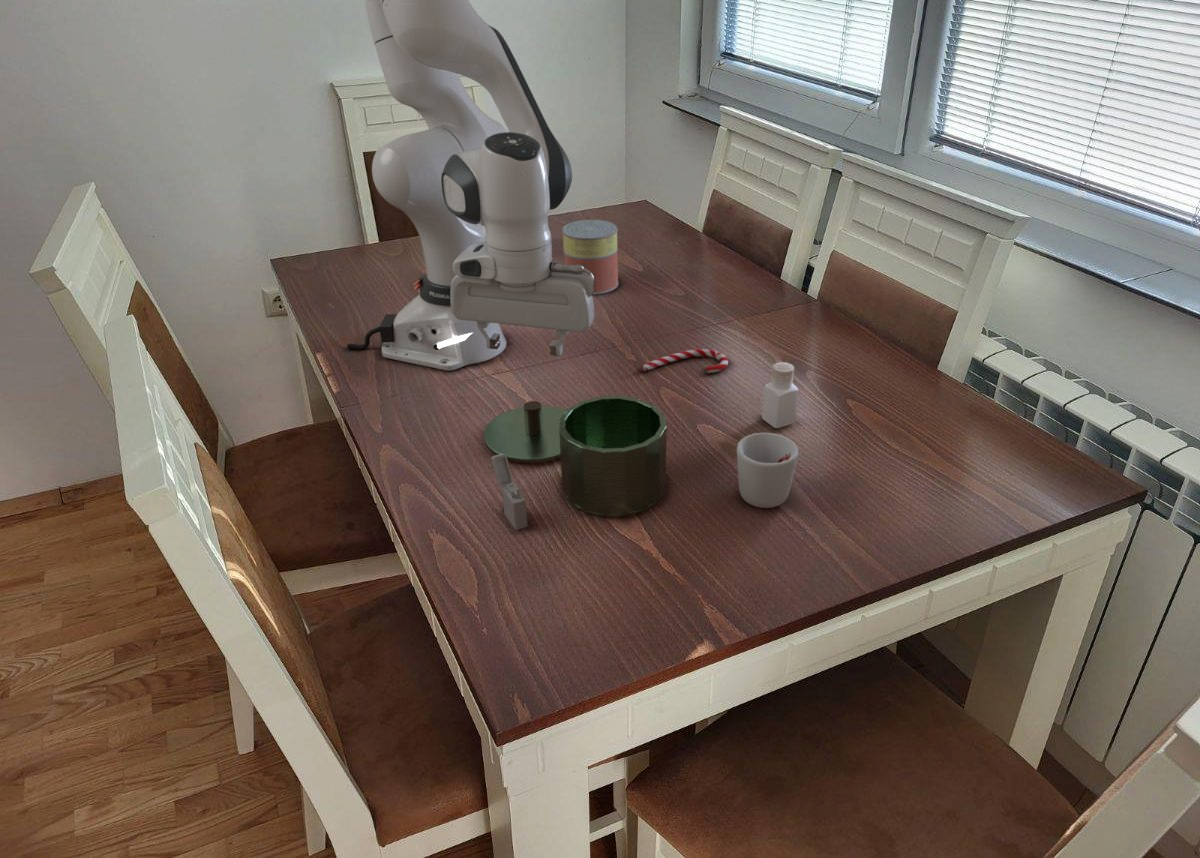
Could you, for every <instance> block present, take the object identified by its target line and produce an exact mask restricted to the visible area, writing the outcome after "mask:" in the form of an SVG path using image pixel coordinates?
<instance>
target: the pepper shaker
mask: <svg viewBox="0 0 1200 858" xmlns="http://www.w3.org/2000/svg"><path fill="white" fill-rule="evenodd" d="M771 368H772V369H771V381H769V382H768V383H766V384H764V387H763V395H762V396H763V397H762V409H761V410H762V411H761V418H762V420H763V421H765V423H767V424H768V425H770V426H771V427H773V428H775V429H780V428H783V427H787V426H789V425H792V424H794V423H795V422H796V418H797V410H798V400H799V393H800V391H799V388H798V387H797V386H796V385H795V384H794V383H793V380H794V374H795V365H793V364H792V363H789V362H786V361H785V362H783V361H779V362H775V363H773V365H772V367H771Z"/></svg>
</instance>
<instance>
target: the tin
mask: <svg viewBox="0 0 1200 858" xmlns="http://www.w3.org/2000/svg"><path fill="white" fill-rule="evenodd" d="M666 419H667V418H666V415H665V414H664V412H662V411H661V410H660V408H659V407H657V406H656V405H655V404H652V403H650V402H648V401H645V400H644V399H640V398H637V397H631V396H625V395H602V396H597V397H593V398H588V399H584V400H580V401H579V402H577V403H575V404H573V405H572V406H569V407H568V408H567V409H566V411H565V413H564V414H563V415H562V416H561V418H560V419H559V437H560V454H561V457H560V467H561V469H560V470H561V485H562V492H563V495H564V498H565V499H566V501H567V502H568V503H569V504H570V505H571V506H572V507H574V508H575V509H576V510H578V511H581V512H583V513H586V514H588V515H591V516H595V517H601V518H624V517H631V516H635V515H638V514H641V513H643V512H645V511H648V510H649V509H651V508H653V507H654V506H656V505H657V504H658V503H659V502H660V501H661V499H662V498H663V496H664V494H665V490H666V488H667V437H668V435H667V434H668V433H667V432H668V431H667V428H668V425H667V420H666Z"/></svg>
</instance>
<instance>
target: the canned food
mask: <svg viewBox="0 0 1200 858" xmlns="http://www.w3.org/2000/svg"><path fill="white" fill-rule="evenodd" d="M618 230H619V228H618V225H616V224H615V223H614V222H611V221H608V220H604V219H580V220H576V221H571V222H569V223H567V224H565V225H563V227H562V228H561V233H562V249H563V250H562V252H563V264H568V265H581V266H584V268H585V269H587V270H589V271H590V272H591V273H592V274H593V276H594V292H593V294H592V296H594V295H601V294H606V293H610V292H612V291H613V290H615V289H616V288H618V286H619V261H618V259H619V256H618V255H619V254H618ZM583 273H586V272H583Z"/></svg>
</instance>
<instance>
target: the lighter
mask: <svg viewBox="0 0 1200 858" xmlns="http://www.w3.org/2000/svg"><path fill="white" fill-rule="evenodd" d="M490 459H491V463H492V467H493V471H494V475H495V479H496V483H497V486H498V487H501V495H502V503H503V513H504V516H505V517H506V519H507V520H508V522H509V523H510V524H511V525H512V527H513V528H514V530H515V531H518V530H521V529H524V528H527V527H528V525H529V524H528V513H527V503H526V502H527V501H526V498H525V497H524V496H523V495H522V492H520V489H519V487H518V486H517V485H516V484H515V482H514V481H513V477H512V473H511V469H510V465H509V460H507V456H506V455H505V454H499V455H495V454H494V455H493V456H491V457H490Z"/></svg>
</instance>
